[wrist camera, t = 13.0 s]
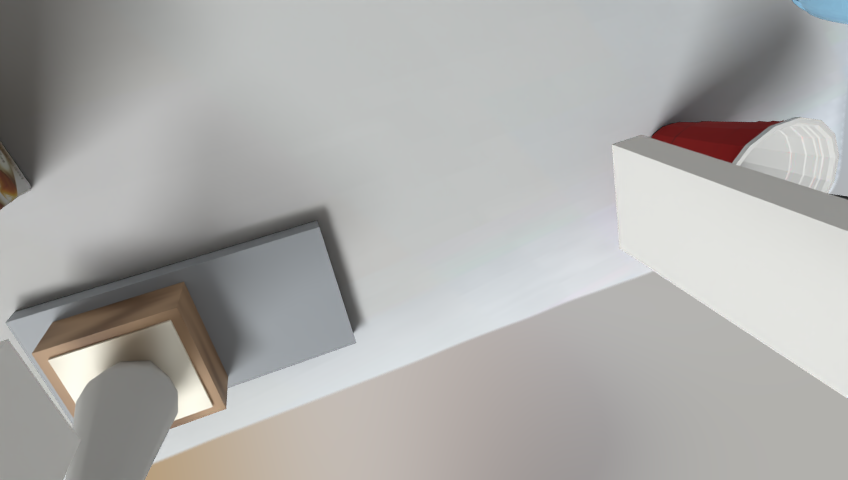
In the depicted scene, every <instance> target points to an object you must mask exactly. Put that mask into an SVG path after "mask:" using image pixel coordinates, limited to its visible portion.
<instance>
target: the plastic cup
mask: <svg viewBox="0 0 848 480" xmlns="http://www.w3.org/2000/svg"><path fill="white" fill-rule="evenodd" d="M651 138H653V139H656V140H659V141H662V142H666V143H669V144H672V145H675V146H678V147H681V148H685V149H688V150H691V151H694V152H697V153H701V154H704V155H707V156H710V157H713V158H716V159H720V160H723V161H726V162H729V163H732V164H736V165H739V166H742V167H745V168H748V169H751V170H755V171H758V172H761V173H764V174H767V175H771V176H774V177H777V178H780V179H783V180H786V181H790V182H793V183H796V184H799V185H802V186H806V187H809V188H812V189H815V190H818V191H821V192H825V193H828V192H829V190H830V188H831V186H832V184H833V182H834V179H835V174H836V169H837V164H838V159H839V152H838V147H837V142H836V136H835V133H834V132H833V131H832V130H831V129H830V128H829V127H828V126H827V125H826V124H825V123H824V122H823V121H822V120H816V119H809V118H802V117H795V118H791V119H788V120H786V121H771V122H763V121H758V122H712V121H701V122H677V123H672V124H669V125H667V126H664V127H662V128H661V129H659V130H658V131H657V132H656V133H655V134H653V136H652V137H651Z"/></svg>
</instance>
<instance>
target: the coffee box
mask: <svg viewBox="0 0 848 480" xmlns="http://www.w3.org/2000/svg"><path fill="white" fill-rule="evenodd" d="M30 190H31V186H30V184H29V182H28V181H27V180H26V178H25V177H24V175H23V174H22V172H21V171H20V169H19V168H18V166H17V165H16V164H15V162H14V161H13V159H12V158H11V156H10V155H9V153H8V152H7V151H6V149H5V148H4V146H3V145H2V143H1V142H0V210H1V209H2V208H3V207H4V206H6V205H7V204H9V203H10V202H12V201H13V200H14V199H16V198H17V197H18V196H20V195H22V194H24V193H26V192H28V191H30Z"/></svg>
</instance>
